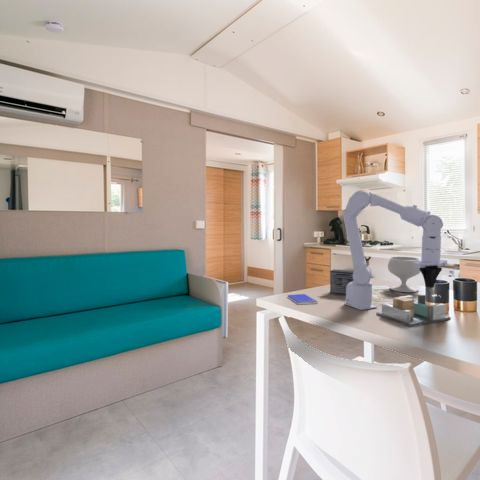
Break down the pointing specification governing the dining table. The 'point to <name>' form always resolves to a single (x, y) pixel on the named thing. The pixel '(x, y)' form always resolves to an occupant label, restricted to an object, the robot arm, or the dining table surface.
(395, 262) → the chalice
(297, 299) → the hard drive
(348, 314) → the dining table surface
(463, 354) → the dining table surface
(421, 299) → the ram
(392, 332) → the dining table surface
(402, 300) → the block
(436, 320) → the press
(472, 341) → the dining table surface
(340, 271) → the small box
